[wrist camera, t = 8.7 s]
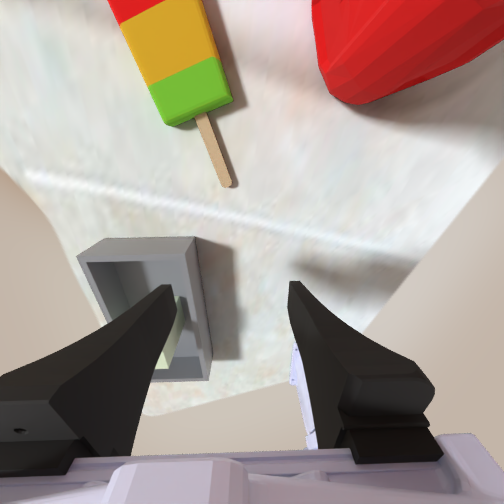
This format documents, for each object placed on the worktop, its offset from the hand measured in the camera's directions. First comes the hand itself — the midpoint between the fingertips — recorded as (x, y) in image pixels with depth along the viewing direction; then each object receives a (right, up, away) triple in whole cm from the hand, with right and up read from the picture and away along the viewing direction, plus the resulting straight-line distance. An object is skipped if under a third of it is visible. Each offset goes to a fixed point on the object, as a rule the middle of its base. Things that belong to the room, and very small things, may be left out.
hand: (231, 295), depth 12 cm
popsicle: (-3, +15, +3) cm, 16 cm away
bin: (-9, -4, +12) cm, 16 cm away
